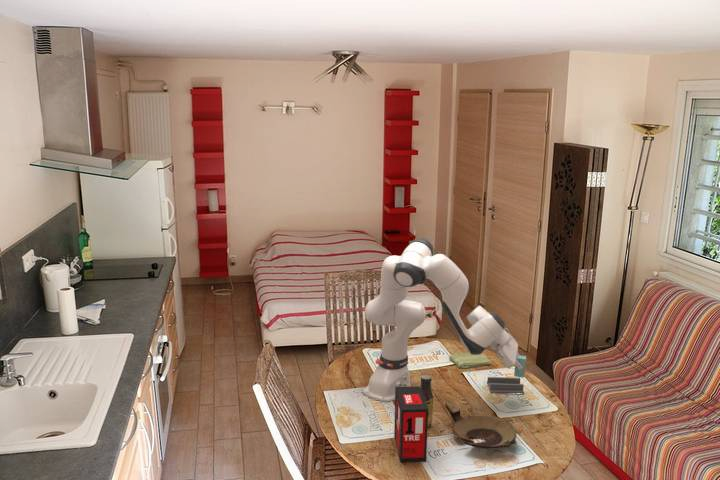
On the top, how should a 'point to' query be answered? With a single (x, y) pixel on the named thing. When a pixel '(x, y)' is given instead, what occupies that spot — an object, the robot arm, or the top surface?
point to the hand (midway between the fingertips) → (521, 365)
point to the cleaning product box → (410, 424)
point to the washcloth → (469, 360)
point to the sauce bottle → (427, 395)
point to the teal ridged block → (522, 371)
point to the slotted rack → (505, 385)
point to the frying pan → (482, 430)
